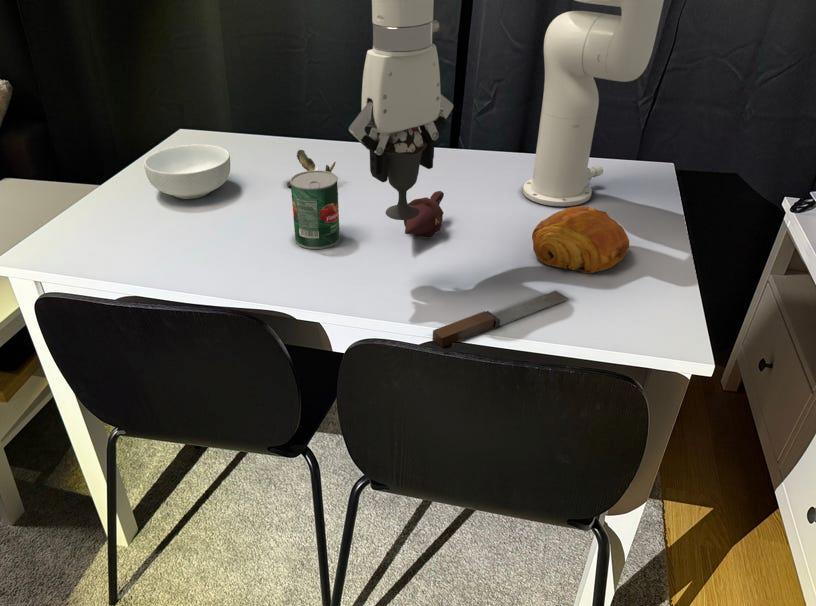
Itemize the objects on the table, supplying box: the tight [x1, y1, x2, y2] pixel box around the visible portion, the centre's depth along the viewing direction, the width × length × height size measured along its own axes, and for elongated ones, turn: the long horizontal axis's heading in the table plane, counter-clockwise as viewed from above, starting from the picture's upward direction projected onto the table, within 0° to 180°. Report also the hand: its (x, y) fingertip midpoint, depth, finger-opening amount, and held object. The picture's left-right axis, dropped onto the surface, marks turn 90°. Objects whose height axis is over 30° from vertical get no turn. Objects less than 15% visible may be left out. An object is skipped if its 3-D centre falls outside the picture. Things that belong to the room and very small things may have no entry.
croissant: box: [531, 205, 630, 274], centre depth 114 cm, size 14×16×8 cm
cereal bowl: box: [143, 143, 231, 200], centre depth 141 cm, size 17×17×7 cm
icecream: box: [403, 190, 445, 239], centre depth 122 cm, size 7×7×15 cm
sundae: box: [383, 127, 427, 221], centre depth 99 cm, size 7×7×15 cm
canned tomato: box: [289, 169, 341, 250], centre depth 121 cm, size 8×8×11 cm
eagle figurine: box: [286, 149, 336, 187], centre depth 142 cm, size 8×7×9 cm
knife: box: [432, 290, 569, 348], centre depth 101 cm, size 23×3×2 cm, turn 120°
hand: (402, 171), depth 100 cm, fingers closed on sundae, 6 cm apart
